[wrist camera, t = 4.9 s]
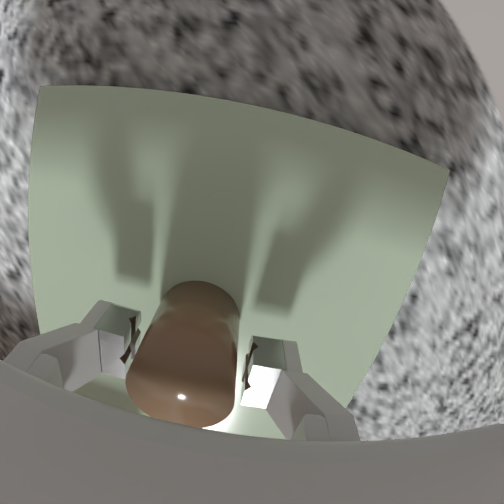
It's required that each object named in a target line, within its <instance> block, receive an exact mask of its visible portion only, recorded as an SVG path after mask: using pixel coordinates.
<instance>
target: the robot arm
mask: <svg viewBox="0 0 504 504" xmlns="http://www.w3.org/2000/svg"><path fill="white" fill-rule="evenodd" d="M140 323H141V311H140V310H136V309H133V308H129V307H125V306H122V305H119V304H115V303H112V302H108V301H104V300H98V301H97V302H96V304H95V305H94V306H93V307H92V309H91V310H90V311H89V312H88V314H87V315H86V316H85V317H84V319H83V320H82V321H81V322H80V324H78V323H73V324H70V325H67V326H64V327H61V328H58V329H55V330H52V331H50V332H47V333H44V334H41V335H38V336H35V337H32V338H29V339H26V340H23V341H20V342H19V343H18V344H17V345H16V346H15V348H14V349H13V350H12V351H11V352H10V353H9V354H8V356H7V357H6V358H5V359H4V360H3V361H2V360H0V504H504V424H493V425H489V426H485V427H480V428H475V429H470V430H465V431H459V432H454V433H447V434H441V435H434V436H426V437H417V438H407V439H395V440H379V441H360V437H359V434H358V431H357V427H356V424H355V420H354V417H353V415H352V414H351V413H350V412H349V411H347V410H346V409H345V408H344V407H343V406H342V405H341V404H340V403H339V402H338V401H336V400H335V399H334V398H333V397H332V396H331V395H330V394H329V393H328V392H327V391H326V390H325V389H323V388H322V387H321V386H320V385H319V384H318V383H317V382H316V381H315V380H314V379H313V378H312V377H311V376H310V375H309V374H307V373H303V370H302V365H301V359H300V354H299V349H298V344H297V342H296V341H290V340H282V339H281V340H280V339H273V338H267V337H260V336H254V335H252V336H251V339H250V342H249V353H248V354H246V356H245V360H244V365H243V370H242V382H243V386H242V389H241V405H247V406H253V407H259V408H265V409H266V411H267V412H268V414H269V415H270V416H271V418H272V419H273V421H274V422H275V424H276V425H277V427H278V428H279V430H280V431H281V432H282V434H283V435H284V437H285V438H286V439H275V438H265V437H256V436H248V435H240V434H233V433H226V432H220V431H214V430H209V429H203V428H198V427H193V426H188V425H183V424H178V423H174V422H169V421H165V420H161V419H157V418H153V417H149V416H145V415H142V414H138V413H134V412H131V411H127V410H124V409H121V408H117V407H114V406H111V405H108V404H105V403H102V402H99V401H96V400H93V399H90V398H87V397H84V396H82V395H79V394H76V393H74V392H73V391H75V390H76V389H78V388H80V387H81V386H83V385H84V384H86V383H88V382H89V381H91V380H92V379H94V378H96V377H97V376H99V375H101V374H102V373H105V374H109V375H112V376H116V377H119V378H123V379H125V378H126V374H127V372H128V369H129V367H130V365H131V359H133V358H134V356H135V354H136V352H137V350H138V348H139V345H140V339H141V331H140V330H139V328H138V327H139V325H140ZM101 372H102V373H101Z"/></svg>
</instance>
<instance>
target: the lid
mask: <svg viewBox="0 0 504 504" xmlns="http://www.w3.org/2000/svg"><path fill="white" fill-rule="evenodd" d="M449 172H450V170H449V169H446V168H444V167H442V166H440V165H438V164H435V163H433V162H431V161H428V160H426V159H424V158H421V157H419V156H417V155H414V154H412V153H409V152H407V151H404V150H402V149H399V148H396V147H394V146H391V145H389V144H386V143H383V142H380V141H378V140H375V139H372V138H369V137H366V136H363V135H360V134H357V133H354V132H351V131H348V130H345V129H342V128H339V127H336V126H332V125H329V124H326V123H322V122H319V121H315V120H312V119H308V118H304V117H301V116H297V115H293V114H289V113H285V112H281V111H277V110H273V109H268V108H264V107H259V106H255V105H250V104H245V103H240V102H235V101H230V100H224V99H219V98H213V97H207V96H200V95H194V94H187V93H179V92H171V91H163V90H153V89H143V88H130V87H115V86H89V85H53V86H40V90H39V95H38V100H37V106H36V112H35V119H34V126H33V134H32V143H31V154H30V167H29V188H28V230H29V251H30V264H31V275H32V284H33V292H34V300H35V307H36V313H37V319H38V325H39V330H40V335H41V334H44V333H47V332H50V331H52V330H55V329H58V328H61V327H64V326H67V325H70V324H73V323H78V324H80V322H81V321H82V320H83V319H84V317H85V316H86V315H87V314H88V312H89V311H90V310H91V309H92V307H93V306H94V305H95V304H96V302H97V301H98V300H104V301H108V302H112V303H115V304H119V305H122V306H125V307H129V308H133V309H136V310H140V311H141V323H140V325H139V327H138V328H139V330H140V331H141V339H140V345H139V348H138V350H137V352H136V354H135V356H134V358H133V359H131V365H130V367H129V369H128V372H127V374H126V378H125V379H123V378H119V377H116V376H112V375H109V374H105V373H102V372H101V373H102V374H101V375H99V376H97V377H96V378H94V379H92V380H91V381H89V382H88V383H86V384H84V385H83V386H81V387H80V388H78V389H76V390H75V391H73V392H74V393H76V394H79V395H82V396H84V397H87V398H90V399H93V400H96V401H99V402H102V403H105V404H108V405H111V406H114V407H117V408H121V409H124V410H127V411H131V412H134V413H138V414H142V415H145V416H149V417H153V418H157V419H161V420H165V421H169V422H174V423H178V424H183V425H188V426H193V427H198V428H203V429H209V430H214V431H220V432H226V433H233V434H240V435H248V436H256V437H265V438H275V439H286V438H285V437H284V435H283V434H282V432H281V431H280V430H279V428H278V427H277V425H276V424H275V422H274V421H273V419H272V418H271V416H270V415H269V414H268V412H267V411H266V409H265V408H259V407H253V406H247V405H241V389H242V386H243V382H242V370H243V365H244V360H245V356H246V354H248V353H249V342H250V339H251V336H252V335H254V336H260V337H267V338H273V339H280V340H281V339H282V340H290V341H296V342H297V344H298V349H299V354H300V359H301V365H302V370H303V373H307V374H309V375H310V376H311V377H312V378H313V379H314V380H315V381H316V382H317V383H318V384H319V385H320V386H321V387H322V388H323V389H325V390H326V391H327V392H328V393H329V394H330V395H331V396H332V397H333V398H334V399H335V400H336V401H338V402H339V403H340V404H341V405H342V406H343V407H344V408H345V409H346V407H347V405H348V404H349V402H350V401H351V399H352V397H353V396H354V394H355V392H356V391H357V389H358V387H359V386H360V384H361V382H362V381H363V379H364V377H365V375H366V374H367V372H368V370H369V368H370V367H371V365H372V363H373V361H374V359H375V357H376V356H377V354H378V352H379V350H380V348H381V346H382V344H383V342H384V340H385V338H386V336H387V334H388V332H389V330H390V328H391V326H392V324H393V322H394V320H395V318H396V316H397V314H398V312H399V309H400V307H401V305H402V303H403V301H404V298H405V296H406V294H407V292H408V289H409V287H410V285H411V282H412V280H413V278H414V275H415V273H416V270H417V268H418V265H419V263H420V260H421V258H422V255H423V252H424V250H425V247H426V244H427V242H428V239H429V236H430V233H431V231H432V228H433V225H434V222H435V219H436V216H437V213H438V210H439V206H440V203H441V200H442V197H443V193H444V190H445V187H446V183H447V179H448V176H449Z"/></svg>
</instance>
